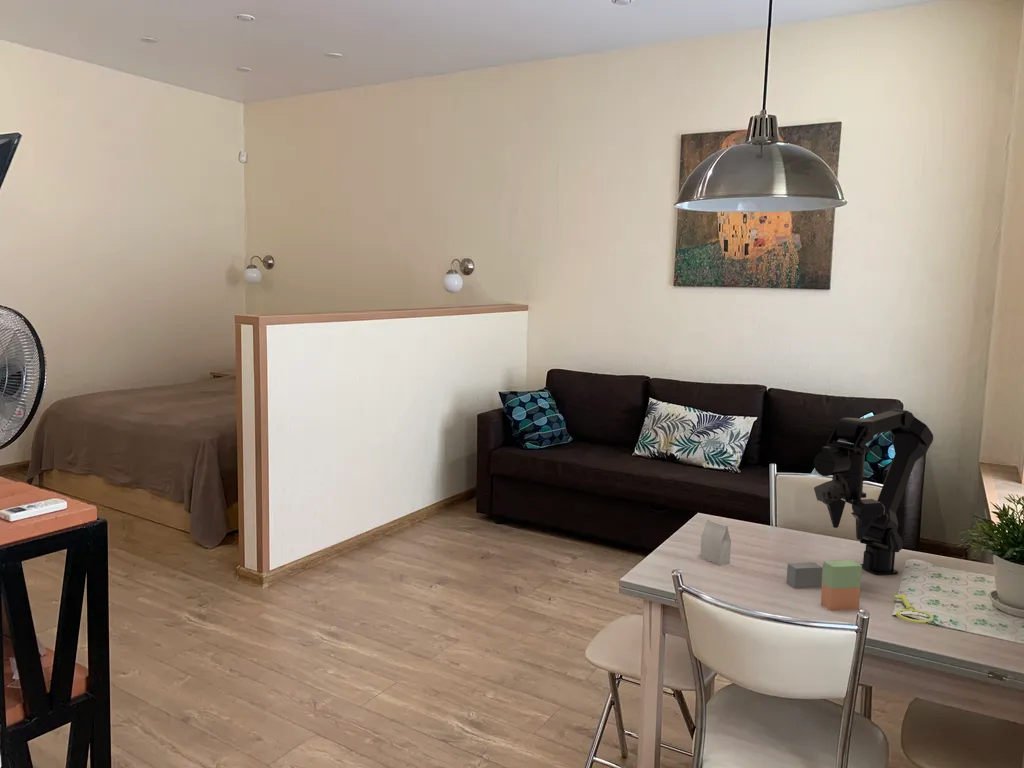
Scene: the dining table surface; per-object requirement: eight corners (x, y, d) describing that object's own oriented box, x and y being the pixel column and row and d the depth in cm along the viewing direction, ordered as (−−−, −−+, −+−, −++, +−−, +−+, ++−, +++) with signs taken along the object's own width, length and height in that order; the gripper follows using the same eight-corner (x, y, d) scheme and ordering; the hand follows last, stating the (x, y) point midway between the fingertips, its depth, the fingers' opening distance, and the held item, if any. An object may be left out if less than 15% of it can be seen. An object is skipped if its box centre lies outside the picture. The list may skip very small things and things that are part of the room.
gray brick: (812, 582, 187) (814, 562, 186) (821, 587, 183) (822, 567, 183) (786, 583, 186) (787, 563, 185) (794, 588, 182) (795, 568, 181)
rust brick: (848, 602, 174) (850, 581, 174) (858, 609, 171) (860, 587, 170) (820, 604, 173) (822, 582, 172) (830, 610, 169) (831, 589, 169)
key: (902, 601, 176) (903, 592, 176) (937, 625, 164) (938, 615, 164) (873, 602, 176) (874, 593, 175) (906, 626, 163) (907, 616, 163)
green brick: (850, 581, 174) (852, 560, 173) (860, 587, 170) (862, 565, 170) (822, 582, 172) (823, 561, 172) (831, 588, 169) (833, 567, 168)
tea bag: (719, 565, 197) (721, 527, 195) (700, 557, 202) (702, 520, 201) (729, 563, 199) (731, 525, 197) (710, 555, 204) (712, 518, 203)
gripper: (798, 463, 192) (795, 523, 194) (844, 482, 174) (841, 548, 176) (838, 461, 195) (835, 521, 197) (888, 479, 177) (883, 545, 179)
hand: (847, 533), depth 187 cm, fingers open, 9 cm apart
